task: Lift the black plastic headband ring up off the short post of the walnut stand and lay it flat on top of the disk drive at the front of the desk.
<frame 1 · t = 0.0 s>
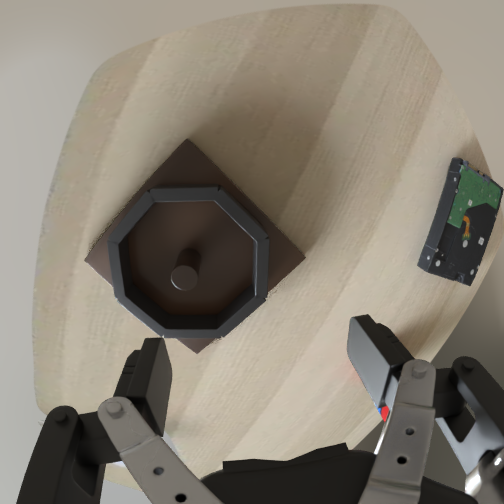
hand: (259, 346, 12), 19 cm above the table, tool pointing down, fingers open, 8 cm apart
stand: (190, 256, 31), on the table
disk drive: (457, 222, 33), on the table
headband ring: (189, 259, 30), point 1 cm above the table, touching stand
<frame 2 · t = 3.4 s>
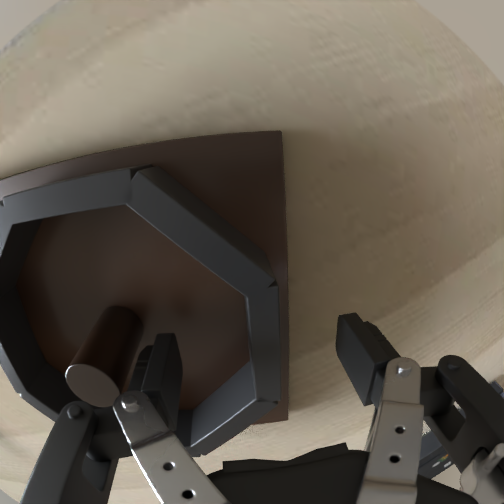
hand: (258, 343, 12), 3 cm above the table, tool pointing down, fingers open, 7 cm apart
stand: (125, 317, 15), on the table
disk drive: (442, 436, 23), on the table
headband ring: (121, 325, 14), point 1 cm above the table, touching stand
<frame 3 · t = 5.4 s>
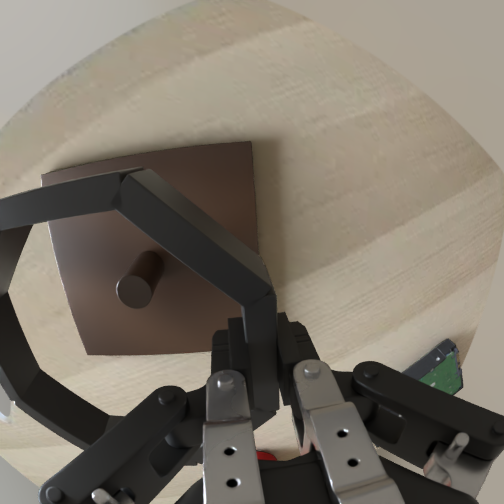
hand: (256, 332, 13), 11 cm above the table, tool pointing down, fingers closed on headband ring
stand: (151, 262, 23), on the table
disk drive: (407, 390, 32), on the table
headband ring: (115, 333, 13), point 10 cm above the table, touching gripper
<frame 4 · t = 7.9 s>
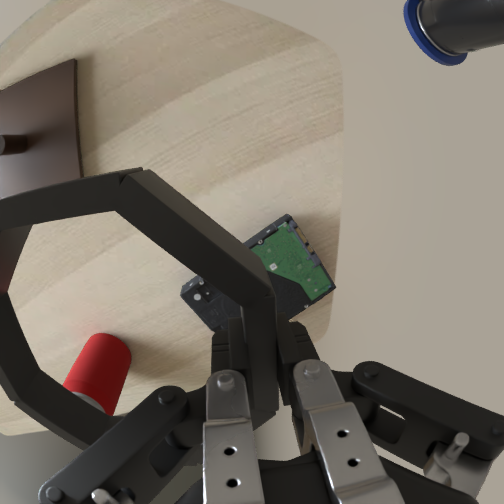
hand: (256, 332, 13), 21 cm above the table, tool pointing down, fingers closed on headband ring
stand: (24, 144, 27), on the table
beverage can: (110, 349, 37), on the table
disk drive: (257, 282, 35), on the table
headband ring: (114, 333, 13), point 20 cm above the table, touching gripper
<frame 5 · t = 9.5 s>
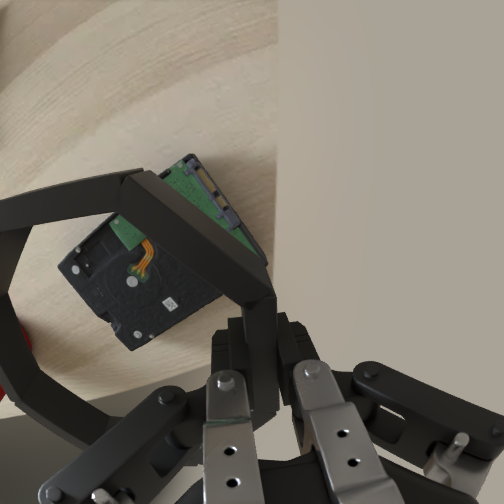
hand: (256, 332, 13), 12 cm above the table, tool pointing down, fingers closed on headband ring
disk drive: (159, 254, 25), on the table
headband ring: (115, 334, 13), point 12 cm above the table, touching gripper
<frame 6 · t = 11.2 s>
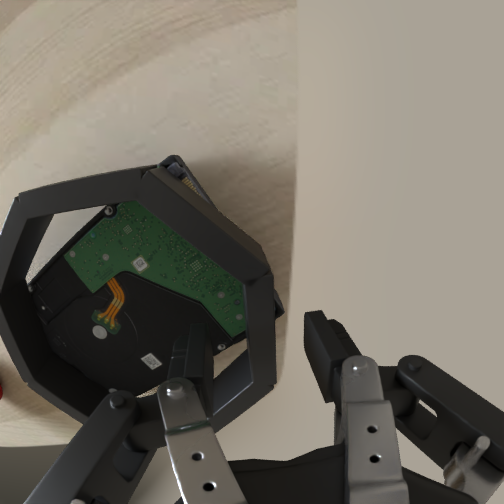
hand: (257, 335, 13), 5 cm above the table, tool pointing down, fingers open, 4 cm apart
disk drive: (136, 292, 18), on the table, touching headband ring
headband ring: (127, 315, 15), point 3 cm above the table, touching disk drive
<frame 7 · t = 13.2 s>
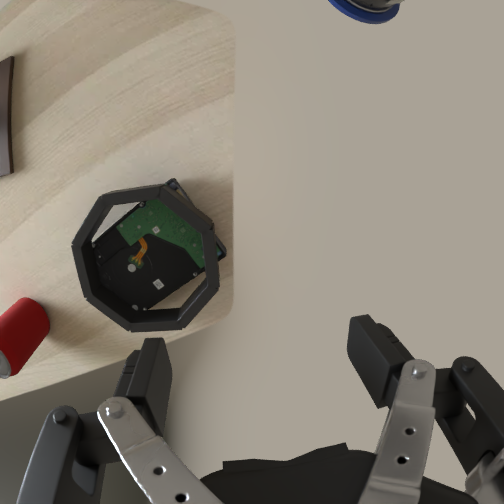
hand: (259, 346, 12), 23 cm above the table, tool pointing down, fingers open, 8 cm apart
beverage can: (35, 315, 35), on the table
disk drive: (151, 249, 34), on the table, touching headband ring
headband ring: (147, 256, 31), point 3 cm above the table, touching disk drive
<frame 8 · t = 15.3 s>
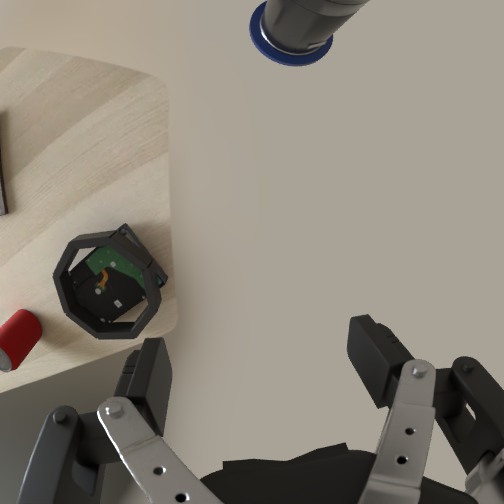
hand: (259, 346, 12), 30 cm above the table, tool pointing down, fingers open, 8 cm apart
beverage can: (30, 322, 43), on the table
disk drive: (113, 275, 42), on the table, touching headband ring
headband ring: (108, 283, 39), point 3 cm above the table, touching disk drive
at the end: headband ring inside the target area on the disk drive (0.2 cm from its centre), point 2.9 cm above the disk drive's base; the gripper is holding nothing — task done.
